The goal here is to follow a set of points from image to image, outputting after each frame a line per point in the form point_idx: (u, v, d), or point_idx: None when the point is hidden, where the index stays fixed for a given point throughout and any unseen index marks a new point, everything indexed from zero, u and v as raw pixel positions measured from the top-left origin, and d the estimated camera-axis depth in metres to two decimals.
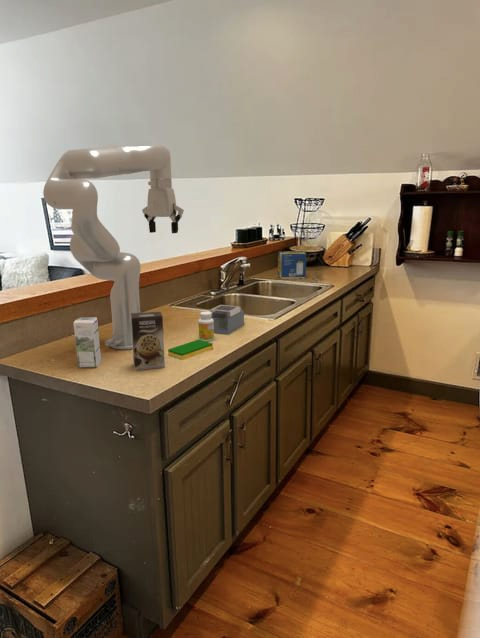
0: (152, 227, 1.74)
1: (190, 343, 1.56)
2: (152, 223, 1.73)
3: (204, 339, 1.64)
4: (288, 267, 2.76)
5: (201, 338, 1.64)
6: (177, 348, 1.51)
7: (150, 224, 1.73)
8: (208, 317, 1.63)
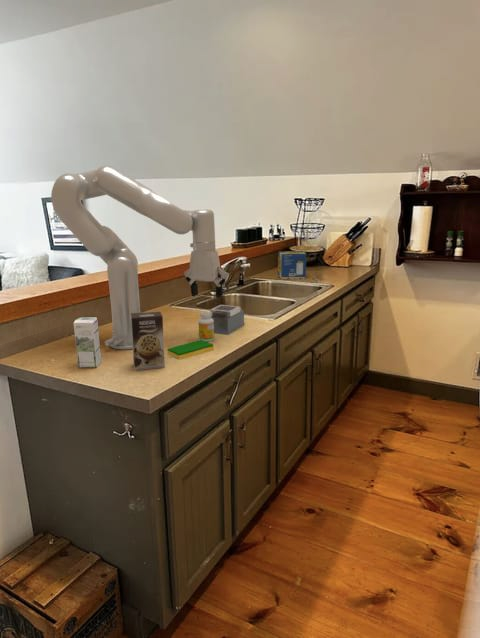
0: (194, 290, 1.64)
1: (191, 343, 1.56)
2: (194, 286, 1.63)
3: (204, 339, 1.64)
4: (288, 267, 2.76)
5: (201, 338, 1.64)
6: (176, 348, 1.52)
7: (192, 287, 1.63)
8: (208, 317, 1.63)
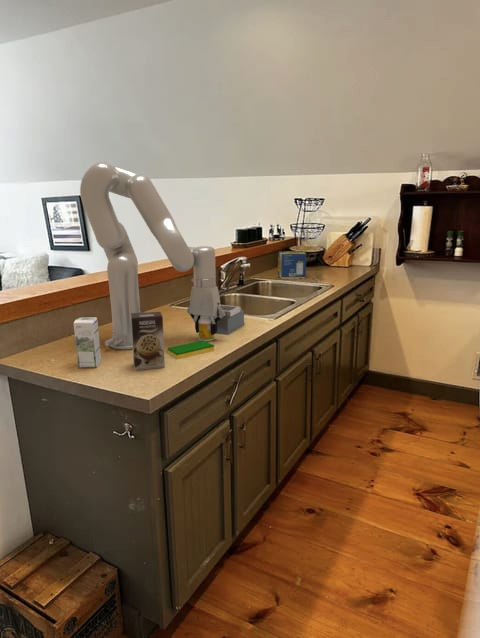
0: (198, 327, 1.66)
1: (192, 343, 1.56)
2: None
3: (204, 339, 1.64)
4: (288, 267, 2.76)
5: (201, 338, 1.64)
6: (176, 347, 1.52)
7: (197, 324, 1.65)
8: (208, 317, 1.63)
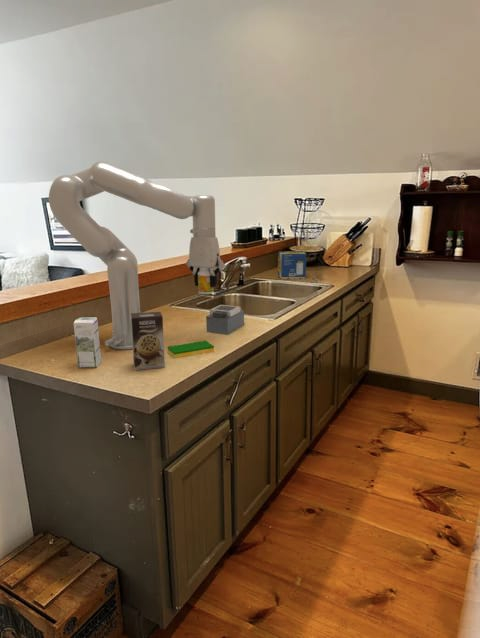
0: None
1: (193, 343, 1.56)
2: None
3: (203, 292, 1.60)
4: (288, 267, 2.76)
5: (200, 291, 1.61)
6: (176, 346, 1.53)
7: (196, 277, 1.61)
8: (207, 269, 1.59)
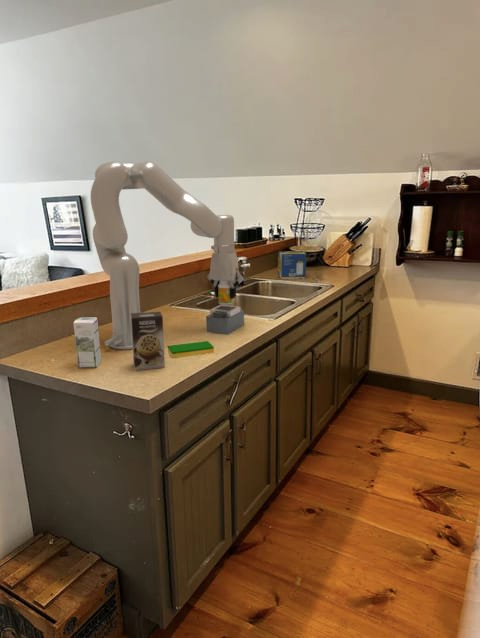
0: None
1: (194, 343, 1.56)
2: None
3: (224, 303, 1.75)
4: (288, 267, 2.76)
5: (221, 302, 1.75)
6: (176, 346, 1.53)
7: (216, 289, 1.76)
8: (227, 282, 1.73)
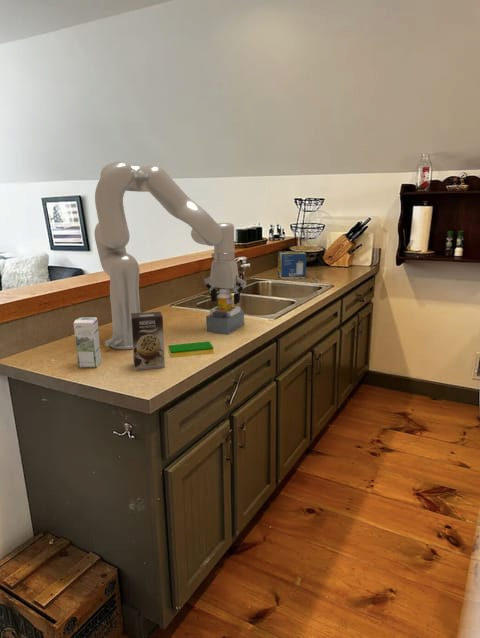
0: (214, 296, 1.78)
1: (195, 343, 1.56)
2: (214, 293, 1.78)
3: None
4: (288, 267, 2.76)
5: None
6: (176, 346, 1.54)
7: (212, 294, 1.77)
8: (227, 292, 1.74)
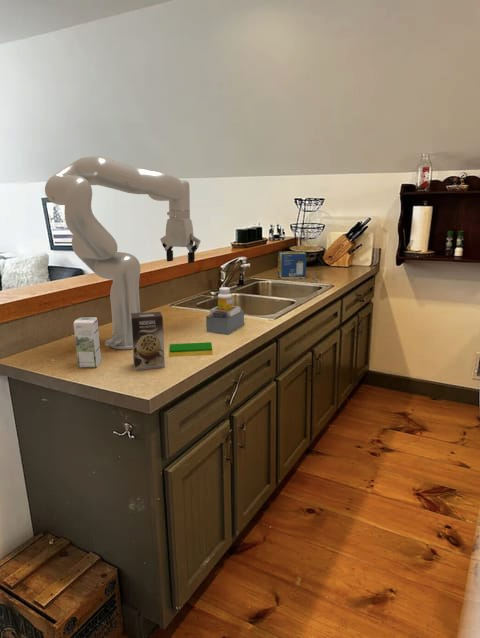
0: (169, 256, 1.76)
1: (196, 343, 1.55)
2: (169, 252, 1.76)
3: None
4: (288, 267, 2.76)
5: None
6: (177, 345, 1.54)
7: (167, 253, 1.75)
8: (227, 292, 1.74)
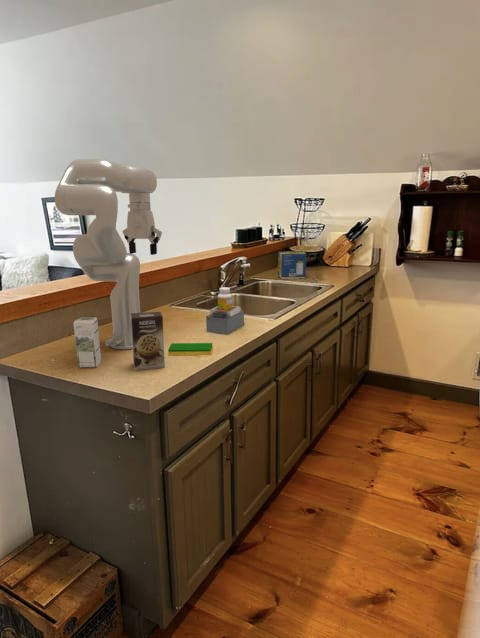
0: (132, 248, 1.78)
1: (197, 344, 1.55)
2: (132, 244, 1.78)
3: None
4: (288, 267, 2.76)
5: None
6: (178, 344, 1.55)
7: (130, 245, 1.77)
8: (227, 292, 1.74)
